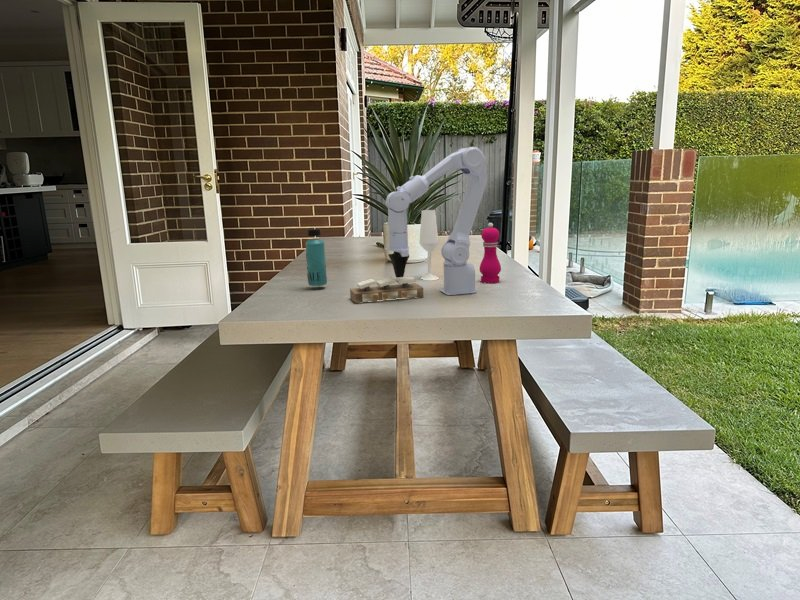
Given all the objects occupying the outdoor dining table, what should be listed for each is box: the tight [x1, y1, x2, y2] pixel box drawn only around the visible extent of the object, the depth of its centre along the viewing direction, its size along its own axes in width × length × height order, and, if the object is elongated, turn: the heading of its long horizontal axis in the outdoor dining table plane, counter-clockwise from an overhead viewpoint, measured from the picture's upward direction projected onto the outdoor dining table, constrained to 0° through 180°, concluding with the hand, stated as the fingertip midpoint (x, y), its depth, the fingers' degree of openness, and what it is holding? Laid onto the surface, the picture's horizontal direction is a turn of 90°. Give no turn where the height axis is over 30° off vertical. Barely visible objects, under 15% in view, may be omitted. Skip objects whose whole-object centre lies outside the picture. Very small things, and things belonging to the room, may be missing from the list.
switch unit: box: [349, 282, 424, 304], centre depth 167 cm, size 21×8×4 cm, turn 106°
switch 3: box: [394, 276, 416, 285], centre depth 168 cm, size 5×4×1 cm
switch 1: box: [356, 277, 377, 289], centre depth 165 cm, size 5×4×1 cm
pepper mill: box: [479, 222, 502, 284], centre depth 185 cm, size 7×7×20 cm
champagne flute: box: [419, 209, 440, 281], centre depth 193 cm, size 7×7×24 cm
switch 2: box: [375, 276, 397, 287], centre depth 167 cm, size 5×4×1 cm
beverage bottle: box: [305, 228, 328, 287], centre depth 183 cm, size 6×7×20 cm
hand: (399, 277), depth 168 cm, fingers closed
